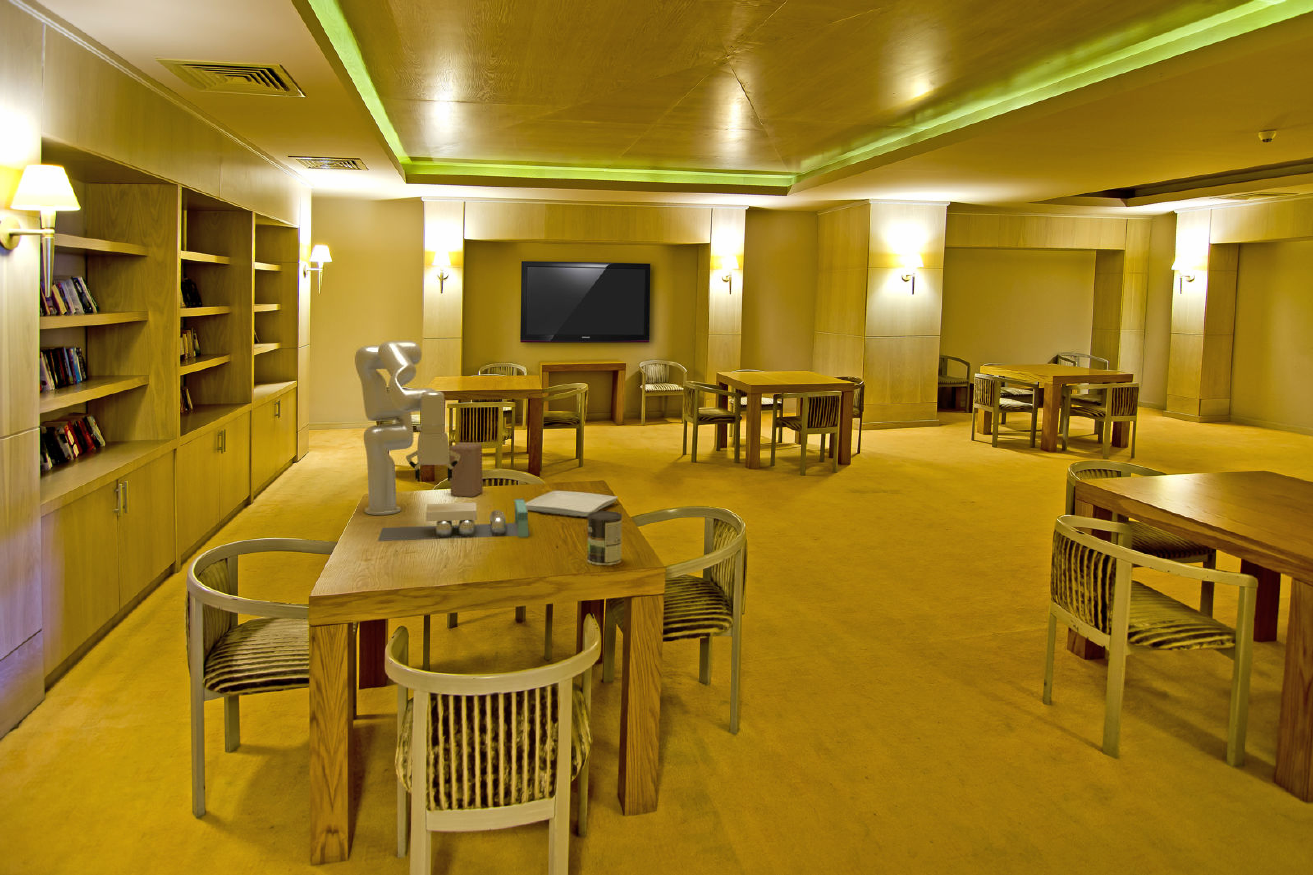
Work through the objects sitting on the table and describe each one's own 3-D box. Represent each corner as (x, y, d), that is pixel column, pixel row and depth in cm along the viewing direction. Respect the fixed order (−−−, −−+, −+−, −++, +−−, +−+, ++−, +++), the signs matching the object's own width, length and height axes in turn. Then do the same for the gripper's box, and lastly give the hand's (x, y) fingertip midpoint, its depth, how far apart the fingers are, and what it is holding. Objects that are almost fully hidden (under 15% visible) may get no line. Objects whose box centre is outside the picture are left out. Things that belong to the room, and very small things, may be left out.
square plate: (521, 513, 336) (521, 503, 336) (554, 499, 362) (554, 489, 361) (589, 521, 327) (589, 510, 326) (618, 505, 352) (619, 495, 352)
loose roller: (489, 524, 317) (490, 509, 316) (504, 524, 318) (505, 510, 317) (490, 535, 301) (491, 520, 300) (506, 536, 302) (507, 521, 301)
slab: (427, 512, 310) (427, 504, 309) (476, 511, 313) (476, 502, 313) (426, 521, 298) (426, 512, 298) (476, 519, 301) (476, 510, 301)
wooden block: (473, 497, 360) (472, 447, 357) (449, 496, 362) (448, 446, 359) (483, 492, 369) (482, 443, 366) (460, 491, 371) (459, 442, 368)
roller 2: (460, 526, 315) (458, 511, 314) (474, 524, 316) (473, 510, 315) (459, 538, 299) (458, 523, 298) (475, 536, 300) (474, 521, 299)
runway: (382, 527, 312) (382, 503, 311) (526, 522, 322) (525, 498, 320) (377, 544, 292) (376, 517, 290) (530, 538, 301) (530, 512, 300)
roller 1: (434, 517, 312) (446, 508, 313) (442, 528, 314) (455, 520, 314) (432, 528, 297) (445, 520, 297) (441, 541, 298) (454, 532, 299)
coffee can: (587, 566, 271) (587, 519, 269) (587, 556, 282) (587, 511, 279) (622, 565, 272) (622, 518, 270) (620, 555, 282) (621, 510, 280)
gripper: (405, 431, 294) (406, 484, 297) (460, 430, 299) (461, 482, 301) (405, 427, 302) (406, 479, 304) (459, 427, 306) (460, 477, 308)
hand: (433, 480), depth 303 cm, fingers open, 9 cm apart
